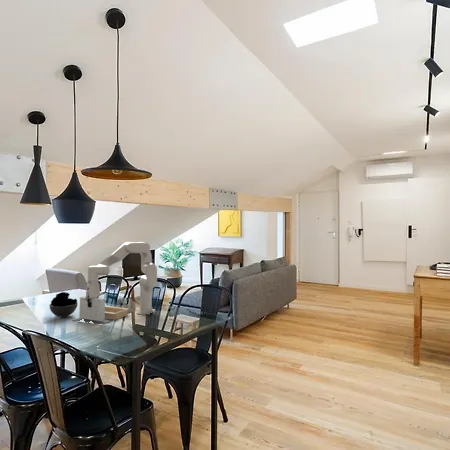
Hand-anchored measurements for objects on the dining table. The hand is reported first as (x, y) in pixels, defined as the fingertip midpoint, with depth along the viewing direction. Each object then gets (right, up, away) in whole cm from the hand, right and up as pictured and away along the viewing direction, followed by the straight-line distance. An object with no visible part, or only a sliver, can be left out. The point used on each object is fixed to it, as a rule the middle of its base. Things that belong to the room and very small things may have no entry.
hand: (92, 306), depth 253 cm
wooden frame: (+6, -12, +17) cm, 21 cm away
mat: (0, -11, 0) cm, 11 cm away
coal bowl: (-27, -11, +11) cm, 31 cm away
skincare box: (0, -10, 0) cm, 10 cm away
